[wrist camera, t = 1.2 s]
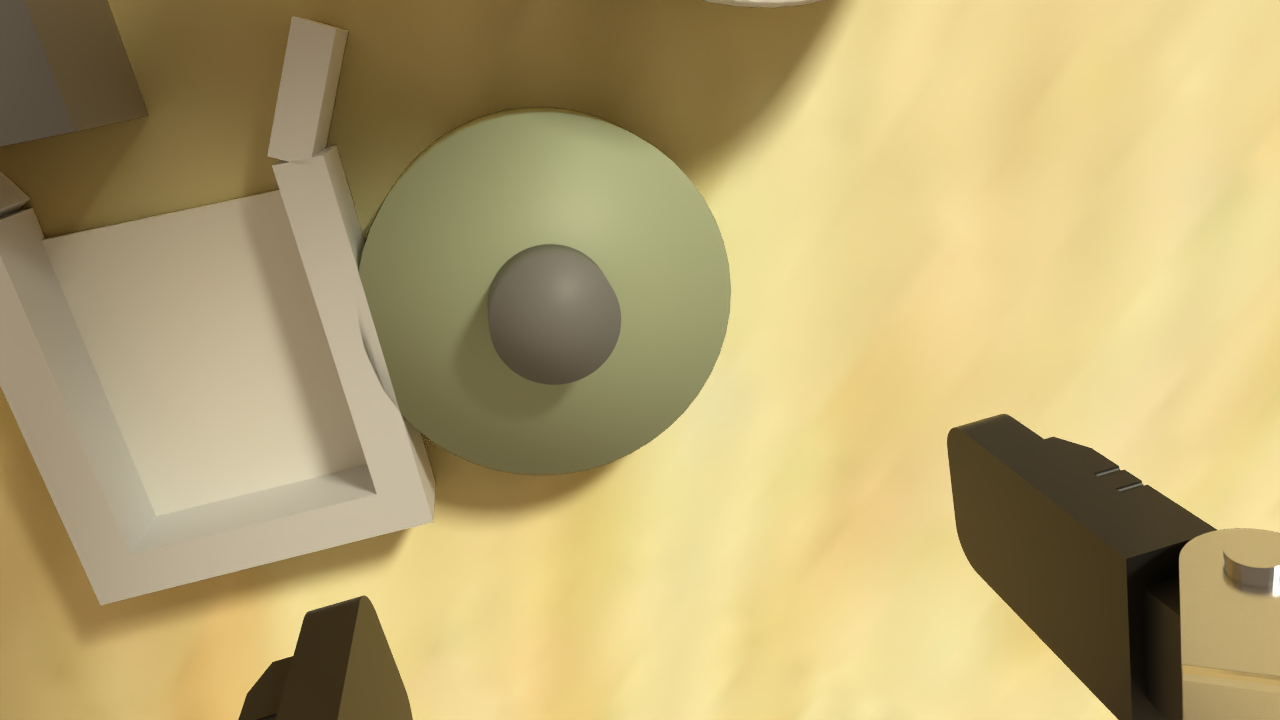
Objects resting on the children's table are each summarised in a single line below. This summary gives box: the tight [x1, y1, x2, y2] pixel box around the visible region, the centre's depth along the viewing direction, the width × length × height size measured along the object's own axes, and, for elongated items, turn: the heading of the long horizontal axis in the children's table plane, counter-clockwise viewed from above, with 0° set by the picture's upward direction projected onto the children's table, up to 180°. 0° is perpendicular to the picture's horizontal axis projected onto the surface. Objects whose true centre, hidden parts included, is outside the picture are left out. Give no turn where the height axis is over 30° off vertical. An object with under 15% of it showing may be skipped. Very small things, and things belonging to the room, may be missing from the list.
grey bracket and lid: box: [0, 16, 731, 606], centre depth 29 cm, size 16×24×5 cm
